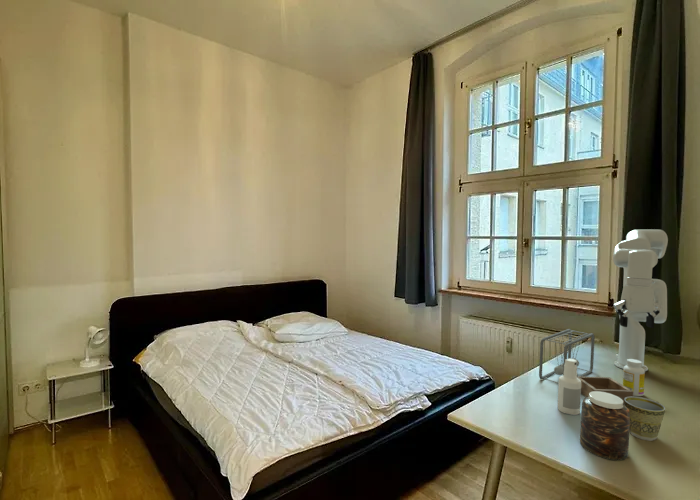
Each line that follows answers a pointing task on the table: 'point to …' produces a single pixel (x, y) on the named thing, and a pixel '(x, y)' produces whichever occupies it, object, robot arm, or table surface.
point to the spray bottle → (569, 389)
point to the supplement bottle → (634, 377)
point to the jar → (605, 426)
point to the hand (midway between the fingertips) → (636, 326)
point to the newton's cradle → (560, 368)
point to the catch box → (603, 386)
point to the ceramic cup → (644, 417)
